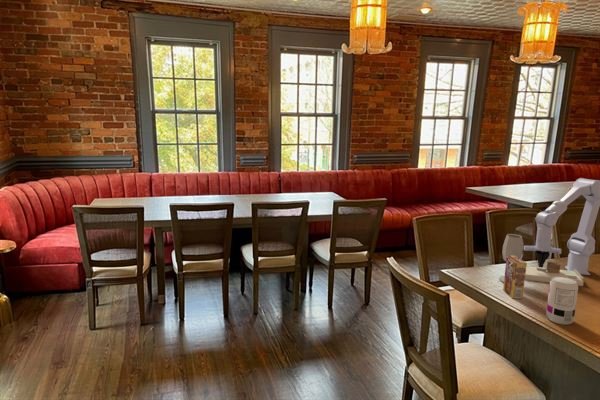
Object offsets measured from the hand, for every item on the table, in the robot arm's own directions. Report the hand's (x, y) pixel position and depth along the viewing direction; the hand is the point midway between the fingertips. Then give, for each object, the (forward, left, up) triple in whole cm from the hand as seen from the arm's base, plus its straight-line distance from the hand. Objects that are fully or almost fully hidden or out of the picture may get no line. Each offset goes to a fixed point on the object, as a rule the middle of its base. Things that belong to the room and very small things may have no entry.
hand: (540, 266), depth 182 cm
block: (+1, +5, -1) cm, 5 cm away
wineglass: (+13, -14, -4) cm, 20 cm away
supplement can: (+47, -3, -4) cm, 48 cm away
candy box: (+28, -15, -4) cm, 33 cm away
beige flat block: (+3, +3, -4) cm, 6 cm away
